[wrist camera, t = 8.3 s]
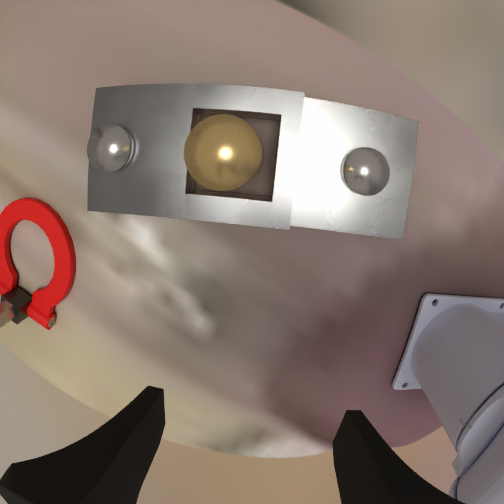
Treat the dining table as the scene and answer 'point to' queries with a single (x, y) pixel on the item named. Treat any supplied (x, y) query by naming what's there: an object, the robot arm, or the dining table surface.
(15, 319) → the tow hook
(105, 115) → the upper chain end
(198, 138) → the pin
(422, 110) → the dining table surface
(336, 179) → the lower chain end
